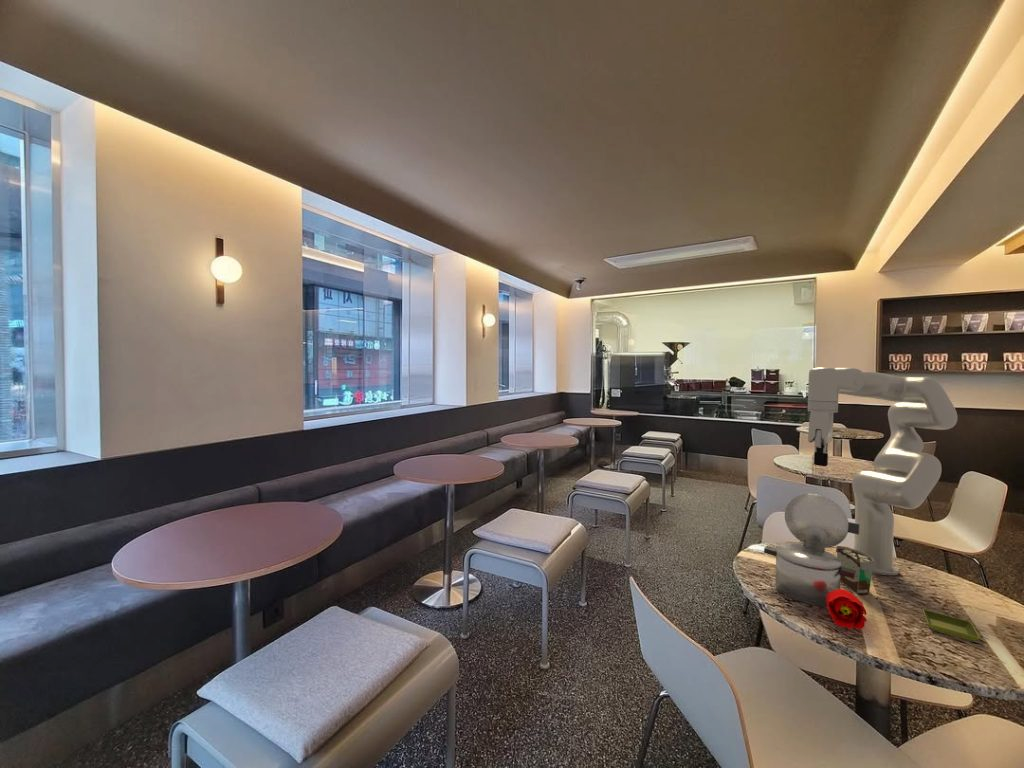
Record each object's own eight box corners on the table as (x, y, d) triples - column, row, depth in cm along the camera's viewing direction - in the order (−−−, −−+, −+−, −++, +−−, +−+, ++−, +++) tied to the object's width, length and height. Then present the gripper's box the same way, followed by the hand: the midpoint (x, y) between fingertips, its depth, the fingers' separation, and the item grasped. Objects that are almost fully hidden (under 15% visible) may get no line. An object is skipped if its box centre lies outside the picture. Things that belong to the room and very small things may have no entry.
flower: (868, 600, 102) (875, 614, 96) (851, 623, 104) (856, 638, 97) (833, 579, 106) (837, 590, 100) (817, 601, 108) (820, 614, 101)
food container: (886, 600, 112) (887, 565, 112) (860, 597, 113) (861, 562, 113) (857, 579, 124) (858, 547, 124) (835, 577, 125) (835, 545, 125)
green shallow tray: (921, 616, 105) (921, 608, 105) (971, 629, 100) (971, 621, 100) (927, 631, 99) (927, 623, 99) (980, 647, 93) (981, 638, 93)
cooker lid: (782, 541, 127) (785, 540, 129) (856, 561, 114) (858, 559, 116) (786, 489, 128) (788, 488, 130) (859, 502, 115) (861, 501, 117)
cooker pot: (772, 570, 129) (773, 536, 129) (857, 597, 113) (858, 558, 113) (756, 586, 118) (757, 549, 118) (849, 618, 103) (850, 576, 103)
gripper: (813, 405, 134) (811, 460, 134) (802, 406, 123) (800, 466, 124) (842, 407, 128) (840, 464, 128) (833, 408, 118) (831, 470, 118)
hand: (820, 465), depth 126 cm, fingers closed
